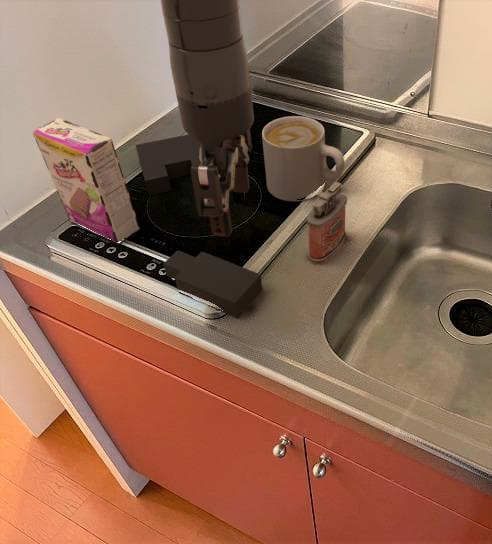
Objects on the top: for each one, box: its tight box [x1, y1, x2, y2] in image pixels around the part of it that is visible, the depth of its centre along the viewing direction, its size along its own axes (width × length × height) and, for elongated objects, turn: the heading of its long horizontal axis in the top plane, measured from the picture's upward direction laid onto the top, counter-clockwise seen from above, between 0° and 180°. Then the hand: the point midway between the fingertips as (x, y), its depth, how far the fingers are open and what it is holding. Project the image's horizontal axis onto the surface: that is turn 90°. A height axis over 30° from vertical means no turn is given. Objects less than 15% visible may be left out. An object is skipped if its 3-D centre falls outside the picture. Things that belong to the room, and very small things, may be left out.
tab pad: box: [163, 250, 263, 319], centre depth 78 cm, size 6×13×3 cm, turn 61°
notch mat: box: [135, 133, 201, 196], centre depth 100 cm, size 12×12×3 cm
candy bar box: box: [32, 117, 141, 246], centre depth 84 cm, size 11×5×16 cm, turn 58°
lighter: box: [306, 181, 348, 266], centre depth 82 cm, size 8×3×10 cm, turn 147°
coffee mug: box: [261, 115, 346, 202], centre depth 93 cm, size 13×10×10 cm
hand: (232, 211), depth 68 cm, fingers open, 8 cm apart
